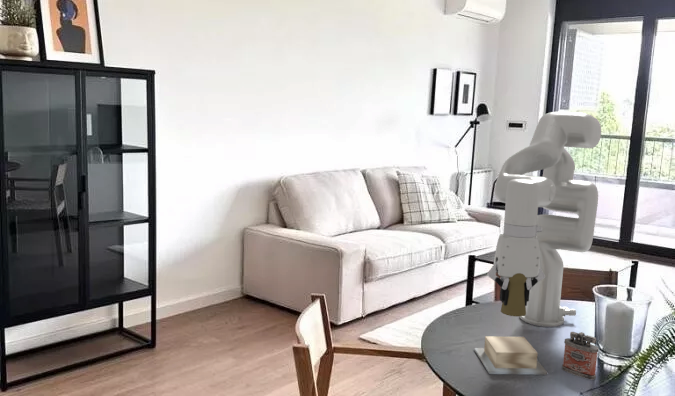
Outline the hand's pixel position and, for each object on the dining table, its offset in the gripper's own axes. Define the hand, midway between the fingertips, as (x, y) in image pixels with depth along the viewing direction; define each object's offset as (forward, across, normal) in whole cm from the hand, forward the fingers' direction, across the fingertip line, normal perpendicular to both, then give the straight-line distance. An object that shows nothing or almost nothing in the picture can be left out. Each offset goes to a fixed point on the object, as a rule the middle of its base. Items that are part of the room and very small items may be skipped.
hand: (513, 303), depth 154 cm
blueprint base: (+15, 0, 0) cm, 15 cm away
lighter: (+15, -15, +6) cm, 22 cm away
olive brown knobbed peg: (+2, 0, 0) cm, 2 cm away
